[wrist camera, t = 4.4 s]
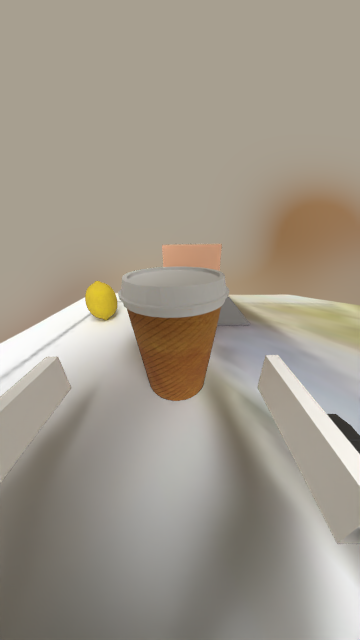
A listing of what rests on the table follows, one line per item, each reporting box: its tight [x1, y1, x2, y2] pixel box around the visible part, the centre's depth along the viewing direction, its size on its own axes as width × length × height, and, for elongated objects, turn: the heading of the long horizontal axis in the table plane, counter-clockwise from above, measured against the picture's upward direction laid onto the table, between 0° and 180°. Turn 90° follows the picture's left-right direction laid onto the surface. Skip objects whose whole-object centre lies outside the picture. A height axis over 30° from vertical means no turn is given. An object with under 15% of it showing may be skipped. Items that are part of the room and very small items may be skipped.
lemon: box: [85, 281, 117, 320], centre depth 33 cm, size 6×6×8 cm
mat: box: [217, 297, 250, 326], centre depth 38 cm, size 22×16×1 cm
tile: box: [162, 244, 222, 271], centre depth 26 cm, size 8×2×14 cm, turn 89°
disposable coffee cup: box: [118, 267, 229, 401], centre depth 17 cm, size 10×10×12 cm
